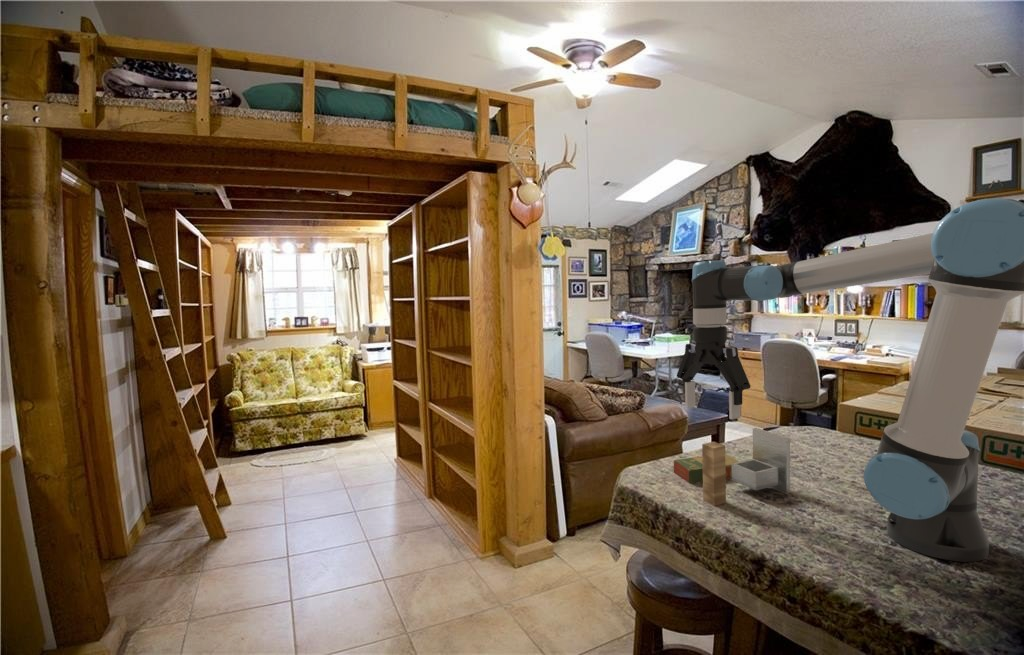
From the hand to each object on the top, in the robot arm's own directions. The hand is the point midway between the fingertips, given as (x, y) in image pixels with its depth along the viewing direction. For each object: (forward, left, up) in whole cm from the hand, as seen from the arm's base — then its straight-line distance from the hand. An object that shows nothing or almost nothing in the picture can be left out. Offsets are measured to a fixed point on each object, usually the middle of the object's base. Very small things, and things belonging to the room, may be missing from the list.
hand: (711, 412), depth 119 cm
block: (-2, +2, -21) cm, 21 cm away
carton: (+11, -9, -22) cm, 26 cm away
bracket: (-2, -13, -21) cm, 25 cm away
